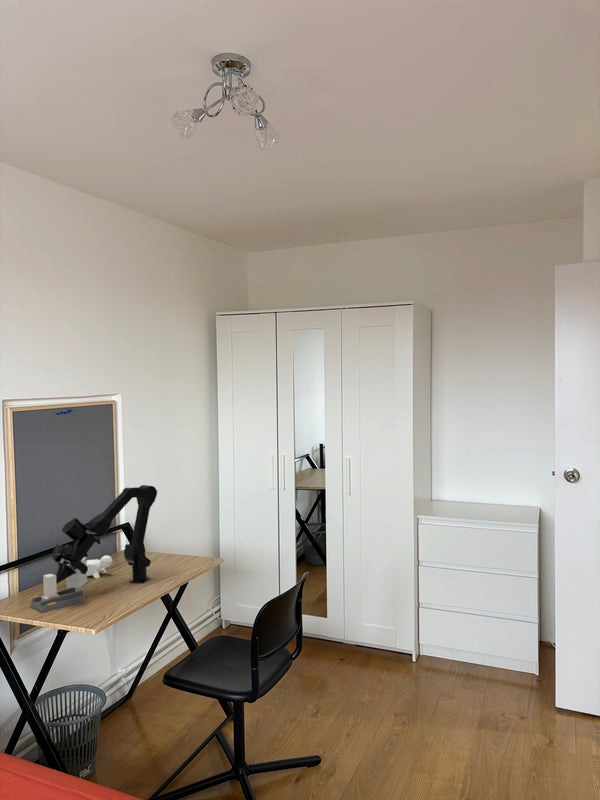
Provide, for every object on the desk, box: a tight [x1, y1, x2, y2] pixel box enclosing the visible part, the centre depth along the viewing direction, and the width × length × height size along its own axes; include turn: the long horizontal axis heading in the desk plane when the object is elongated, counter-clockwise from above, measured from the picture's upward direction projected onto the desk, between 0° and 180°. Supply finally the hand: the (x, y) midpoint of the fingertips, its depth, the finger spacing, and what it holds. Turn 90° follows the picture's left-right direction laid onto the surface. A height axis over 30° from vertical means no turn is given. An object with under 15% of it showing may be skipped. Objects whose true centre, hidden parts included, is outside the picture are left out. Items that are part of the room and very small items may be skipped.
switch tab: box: [41, 573, 60, 601], centre depth 225 cm, size 5×4×9 cm
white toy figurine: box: [86, 555, 113, 580], centre depth 262 cm, size 9×8×15 cm
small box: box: [65, 557, 88, 589], centre depth 249 cm, size 8×6×10 cm
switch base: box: [30, 587, 86, 613], centre depth 227 cm, size 16×10×4 cm, turn 137°
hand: (54, 583), depth 226 cm, fingers closed, pressing on switch tab
